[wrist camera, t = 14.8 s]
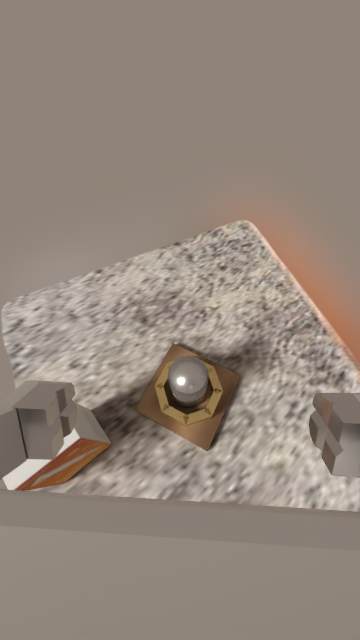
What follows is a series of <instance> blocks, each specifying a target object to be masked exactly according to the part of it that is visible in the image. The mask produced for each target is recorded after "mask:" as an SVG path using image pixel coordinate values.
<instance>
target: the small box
mask: <svg viewBox="0 0 360 640" xmlns="http://www.w3.org/2000/svg"><path fill="white" fill-rule="evenodd" d="M74 403H75V402H74ZM75 404H76V405H77V420H76V424H75V427H74V429H73V430H72V432H71V434H69V435H67V436H66V437H64V445H63V446H62V448H61V450H60V451H59V453H58V454H57V456H56V457H55V459H54V460H43V459H27V461H25V462H24V463H23V464H21V465H20V466H19V467H17V468H16V469H14V470H13V471H12V472H10V473H9V474H8V475H6V476H5V477H3V479H4V482H5V484H6V486H7V488H8V490H20V491H25V490H31V489H37V488H42V487H47V486H53V485H59V484H64V483H66V482H67V481H68V480H69V479H70V478H71V477H72V476H73V475H74V474H76V473H77V472H78V471H79V470H80V469H82V468H83V467H84V466H85V465H86V464H87V463H89V462H90V461H91V460H92V459H94V458H95V457H96V456H97V455H98V454H100V453H101V452H102V451H103V450H105V449H106V448H107V447H108V446H110V445H111V442H110V440H109V439H108V437H107V435H106V434H105V432H104V431H103V429H102V428H101V426H100V424H99V423H98V421H97V420H96V418H95V416H94V415H93V413H92V412H91V410H89V409H87V408H85V407H83V406H81V405H79V404H77V403H75Z"/></svg>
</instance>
